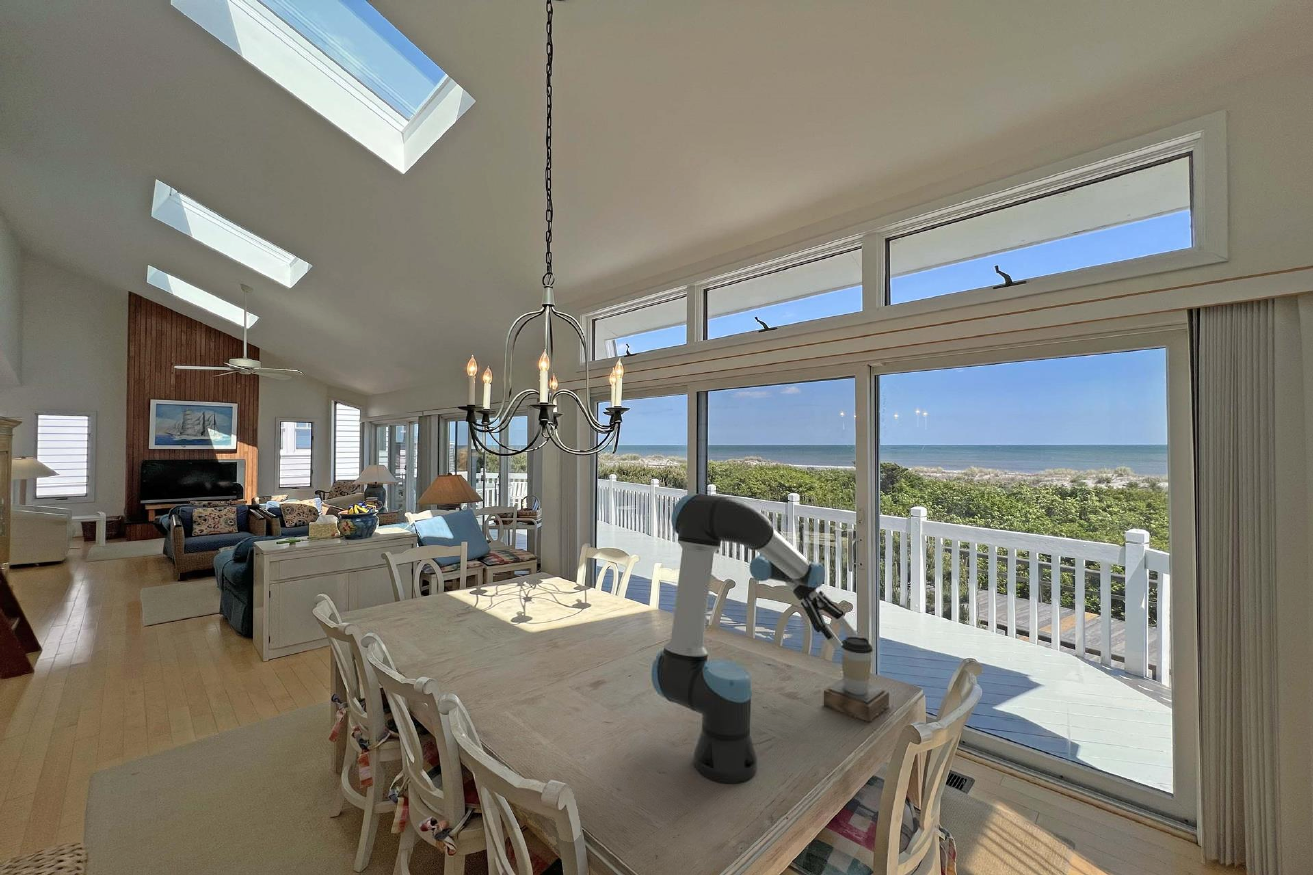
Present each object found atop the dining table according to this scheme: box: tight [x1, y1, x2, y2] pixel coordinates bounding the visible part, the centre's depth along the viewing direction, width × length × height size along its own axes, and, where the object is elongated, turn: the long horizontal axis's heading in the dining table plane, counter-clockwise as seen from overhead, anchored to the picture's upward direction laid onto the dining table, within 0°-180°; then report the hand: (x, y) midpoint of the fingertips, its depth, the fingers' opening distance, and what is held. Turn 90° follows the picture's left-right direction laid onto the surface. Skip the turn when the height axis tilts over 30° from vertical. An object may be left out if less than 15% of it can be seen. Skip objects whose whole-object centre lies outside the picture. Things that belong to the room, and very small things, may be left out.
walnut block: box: [823, 678, 890, 722], centre depth 162 cm, size 14×14×5 cm
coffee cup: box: [840, 636, 874, 694], centre depth 162 cm, size 9×9×15 cm
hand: (846, 641), depth 164 cm, fingers open, 13 cm apart
